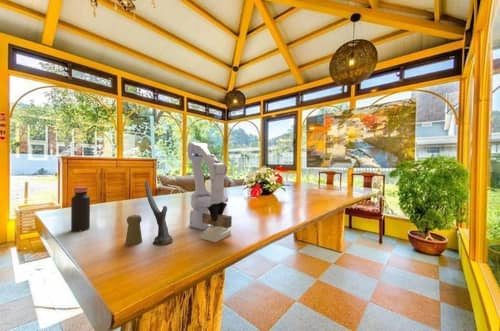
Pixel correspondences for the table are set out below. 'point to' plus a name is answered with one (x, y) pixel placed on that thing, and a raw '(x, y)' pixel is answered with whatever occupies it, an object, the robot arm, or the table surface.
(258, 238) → the table surface
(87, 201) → the bottle
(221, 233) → the ridge stand
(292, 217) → the table surface
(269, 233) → the table surface
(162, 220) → the antler
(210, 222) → the walnut beam
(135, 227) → the cork
